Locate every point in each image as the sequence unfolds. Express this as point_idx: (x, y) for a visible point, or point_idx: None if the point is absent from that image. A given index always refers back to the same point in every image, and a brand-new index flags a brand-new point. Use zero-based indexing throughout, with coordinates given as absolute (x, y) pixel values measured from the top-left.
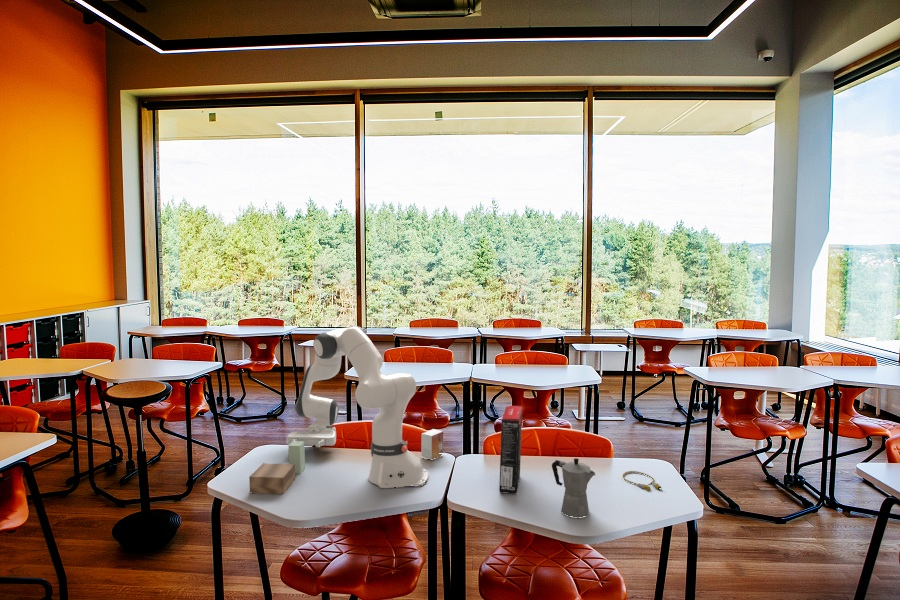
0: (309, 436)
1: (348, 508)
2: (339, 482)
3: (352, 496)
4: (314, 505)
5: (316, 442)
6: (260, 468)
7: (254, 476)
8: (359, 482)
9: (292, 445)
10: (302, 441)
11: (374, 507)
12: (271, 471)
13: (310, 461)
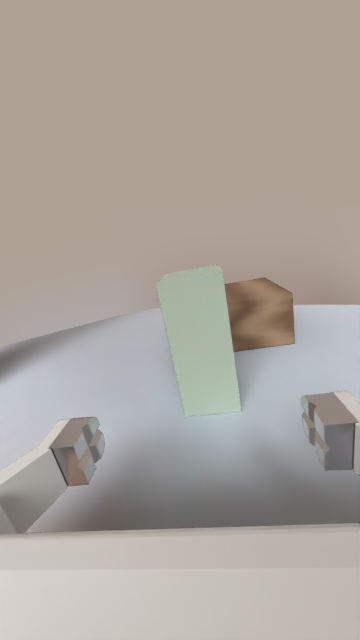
0: (181, 565)
1: (82, 329)
2: (70, 370)
3: (64, 344)
4: (132, 322)
5: (81, 430)
6: (271, 286)
7: (253, 279)
8: (20, 378)
9: (200, 268)
10: (166, 281)
11: (44, 336)
12: (229, 290)
13: (178, 517)
